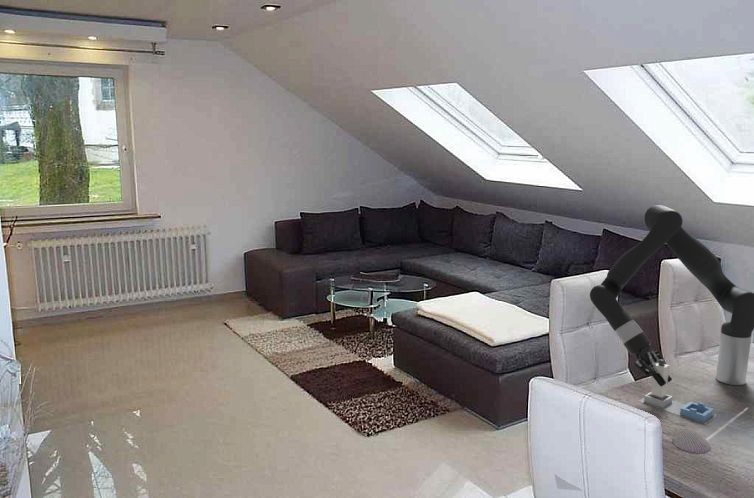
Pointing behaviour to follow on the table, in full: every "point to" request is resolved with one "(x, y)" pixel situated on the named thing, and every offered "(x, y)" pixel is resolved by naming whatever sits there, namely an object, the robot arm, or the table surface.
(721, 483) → the table surface
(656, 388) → the white knobbed square peg
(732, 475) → the table surface
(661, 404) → the socket
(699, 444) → the seashell
